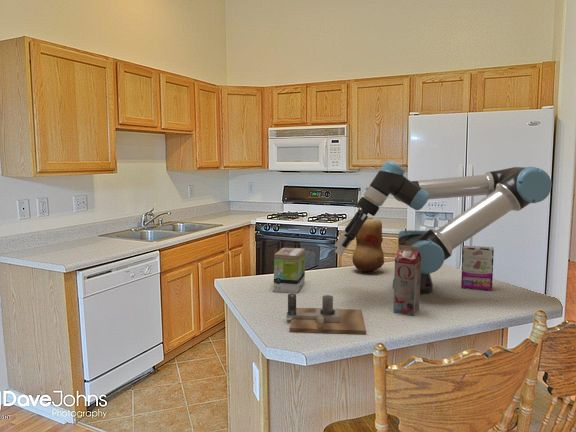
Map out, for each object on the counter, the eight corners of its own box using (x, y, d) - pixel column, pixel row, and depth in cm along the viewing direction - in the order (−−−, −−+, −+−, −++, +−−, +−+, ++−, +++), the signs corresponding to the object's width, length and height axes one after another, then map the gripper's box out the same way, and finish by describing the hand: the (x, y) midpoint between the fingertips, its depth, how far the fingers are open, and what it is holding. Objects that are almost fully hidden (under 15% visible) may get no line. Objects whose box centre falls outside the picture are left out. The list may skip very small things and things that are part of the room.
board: (361, 313, 142) (361, 289, 141) (366, 334, 124) (366, 307, 123) (294, 311, 144) (294, 287, 143) (289, 332, 126) (289, 305, 125)
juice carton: (413, 316, 139) (416, 248, 136) (393, 312, 142) (395, 246, 139) (419, 310, 144) (421, 245, 142) (399, 306, 148) (401, 243, 145)
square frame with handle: (339, 314, 137) (339, 292, 136) (339, 322, 130) (339, 299, 129) (288, 312, 138) (287, 291, 137) (285, 320, 131) (285, 298, 130)
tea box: (298, 293, 163) (298, 255, 162) (273, 292, 165) (272, 254, 164) (305, 282, 178) (305, 247, 176) (281, 281, 180) (281, 246, 178)
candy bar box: (491, 287, 170) (493, 246, 168) (492, 291, 165) (494, 249, 163) (460, 284, 174) (462, 244, 172) (460, 288, 170) (462, 247, 168)
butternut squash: (354, 275, 189) (355, 219, 186) (350, 268, 202) (351, 215, 199) (386, 275, 189) (388, 218, 186) (380, 268, 202) (381, 215, 199)
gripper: (360, 194, 165) (329, 239, 168) (365, 197, 141) (328, 250, 144) (376, 204, 165) (345, 250, 168) (384, 210, 140) (347, 263, 143)
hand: (337, 250), depth 156 cm, fingers open, 13 cm apart
